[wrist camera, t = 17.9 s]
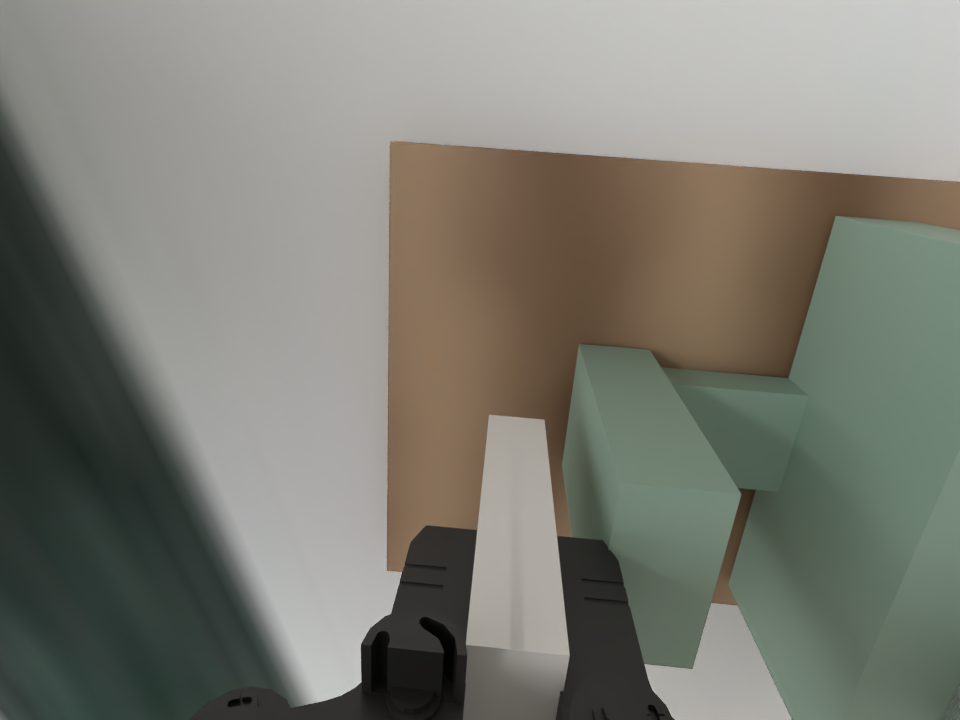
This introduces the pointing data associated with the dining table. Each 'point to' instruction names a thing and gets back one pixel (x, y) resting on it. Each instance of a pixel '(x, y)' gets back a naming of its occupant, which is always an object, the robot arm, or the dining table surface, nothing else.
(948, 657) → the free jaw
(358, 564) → the dining table surface
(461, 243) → the vise body
